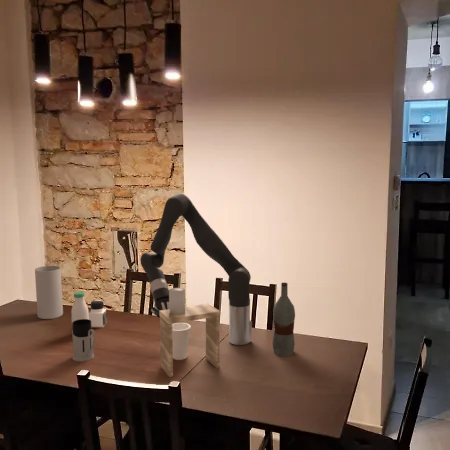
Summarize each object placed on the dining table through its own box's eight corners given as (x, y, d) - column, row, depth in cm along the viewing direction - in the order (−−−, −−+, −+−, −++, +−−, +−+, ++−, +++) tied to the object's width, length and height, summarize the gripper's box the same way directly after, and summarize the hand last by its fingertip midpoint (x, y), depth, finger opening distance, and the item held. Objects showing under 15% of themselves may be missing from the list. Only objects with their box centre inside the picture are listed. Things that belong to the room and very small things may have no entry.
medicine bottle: (103, 327, 246) (102, 303, 244) (88, 327, 246) (87, 303, 244) (107, 322, 253) (106, 299, 251) (92, 322, 253) (91, 299, 251)
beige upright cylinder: (181, 309, 199) (181, 287, 198) (187, 313, 194) (187, 290, 193) (167, 311, 197) (166, 289, 195) (172, 316, 191) (172, 292, 190)
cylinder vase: (32, 319, 258) (29, 270, 255) (45, 311, 271) (42, 265, 267) (55, 320, 256) (53, 271, 253) (67, 312, 268) (65, 266, 265)
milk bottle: (93, 333, 237) (91, 292, 234) (80, 339, 231) (78, 296, 228) (81, 330, 241) (79, 289, 239) (68, 335, 235) (66, 293, 232)
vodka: (267, 352, 215) (268, 283, 211) (280, 346, 222) (281, 279, 217) (286, 358, 209) (287, 287, 205) (298, 352, 216) (300, 283, 211)
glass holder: (87, 351, 217) (85, 317, 215) (105, 360, 207) (103, 325, 205) (68, 356, 211) (66, 322, 209) (85, 367, 201) (84, 330, 199)
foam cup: (187, 362, 205) (187, 331, 204) (165, 360, 207) (164, 329, 205) (193, 353, 215) (193, 323, 213) (172, 351, 216) (171, 322, 215)
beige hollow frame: (208, 357, 210) (208, 303, 207) (220, 367, 200) (219, 311, 197) (160, 366, 201) (159, 310, 198) (170, 377, 191) (169, 319, 188)
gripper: (147, 288, 222) (157, 324, 213) (176, 285, 228) (186, 319, 219) (144, 297, 228) (153, 332, 219) (172, 293, 234) (182, 327, 224)
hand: (169, 326), depth 219 cm, fingers closed
